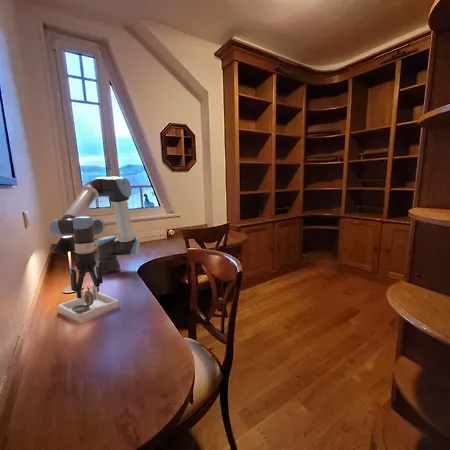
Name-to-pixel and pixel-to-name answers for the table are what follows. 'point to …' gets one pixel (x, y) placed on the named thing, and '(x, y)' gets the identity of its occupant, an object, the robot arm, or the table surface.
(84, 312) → the tray
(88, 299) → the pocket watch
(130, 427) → the table surface
